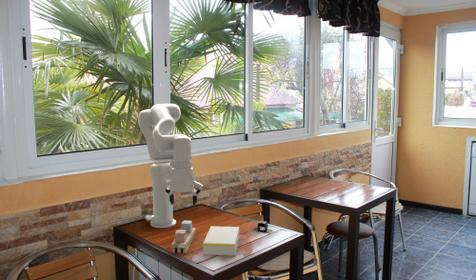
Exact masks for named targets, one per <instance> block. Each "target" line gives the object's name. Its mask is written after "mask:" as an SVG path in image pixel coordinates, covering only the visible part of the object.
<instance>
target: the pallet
mask: <svg viewBox="0 0 476 280" xmlns="http://www.w3.org/2000/svg"><path fill="white" fill-rule="evenodd" d="M180 230H182V228H181V229H180ZM186 238H187V239H186V241H185V243H178V242H175V239H174V240H173V241H172V243H171V254H175V253H177V254H181V253H183V254H187V252H188V250H189V248H190V247H191V245H192V243H193V242H194V239H195V238H196V227H192V231H191V232H186ZM176 251H177V252H176Z"/></svg>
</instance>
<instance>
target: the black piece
mask: <svg viewBox="0 0 476 280" xmlns="http://www.w3.org/2000/svg"><path fill="white" fill-rule="evenodd" d="M268 226H269V225H268V221H263V220H260V221H258V222H257V225H256V226H255V227H254V228H253V229H252V230H251V232H257V233H263V234H271V233H273V232H274V229H269V228H268Z"/></svg>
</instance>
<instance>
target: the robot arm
mask: <svg viewBox="0 0 476 280" xmlns="http://www.w3.org/2000/svg"><path fill="white" fill-rule="evenodd" d="M180 118H181V108H180V106H179V105H177V104H176V103H156V104H154V105H152V107H151V108H149V109H144V110H141V111H140V112H139V114H138V115H137V120H138V126H139V129H140V131H141V133H142V135H143V136H144V139H145V141H146V146H147V150H148V154H149V159H150V160H151V161H152V162H154V163H153V164H151V165H150V168H149V173H150V174H149V175H150V179H151V186H152V187H151V188H152V205H153V208H152V210H153V214H152V215H145V220H146V221H147V222H148V221H150V226H151V227H152V228H155V229H168V228H171V227H172V228H173V227H174V226H176V224H177V220H176V219H174V214H173V213H174V209H173V206H174V204H175V194H174V193H191V194H192V205H193V206H195V205H196V204H197V203H198V194H200V193H201V191H202V190H203V187H204V185H203V184H201V183H200V182H197V180H196V179H195V172H194V167H192V141H191V137H189V136H188V135H186V134H184V133H183V134H182V133H175V134H169V133H170V132H172V131H173V130H174V129H175V126H176V122H178V121H179V119H180ZM196 186H197V187H198V188H197V190H196Z"/></svg>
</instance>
